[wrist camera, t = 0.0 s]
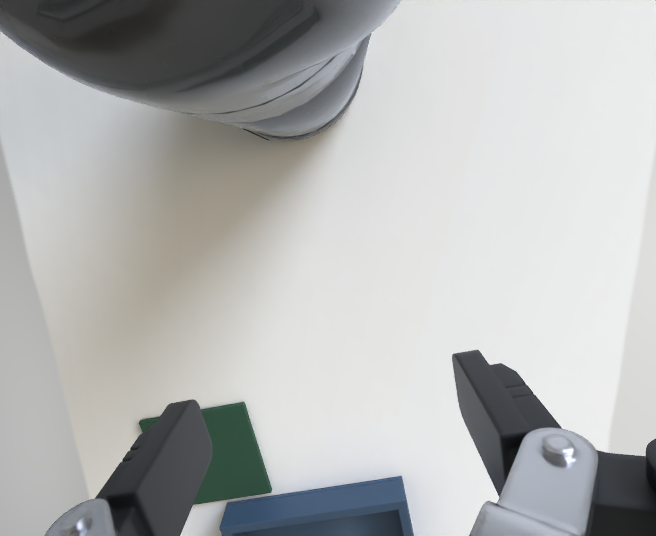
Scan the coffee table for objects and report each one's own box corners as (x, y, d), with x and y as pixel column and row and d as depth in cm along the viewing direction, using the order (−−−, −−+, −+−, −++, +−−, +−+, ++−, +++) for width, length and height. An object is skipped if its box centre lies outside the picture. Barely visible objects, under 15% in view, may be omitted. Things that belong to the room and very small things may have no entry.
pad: (140, 419, 33) (138, 423, 33) (244, 401, 32) (243, 404, 32) (175, 504, 35) (173, 508, 35) (272, 489, 35) (271, 493, 34)
